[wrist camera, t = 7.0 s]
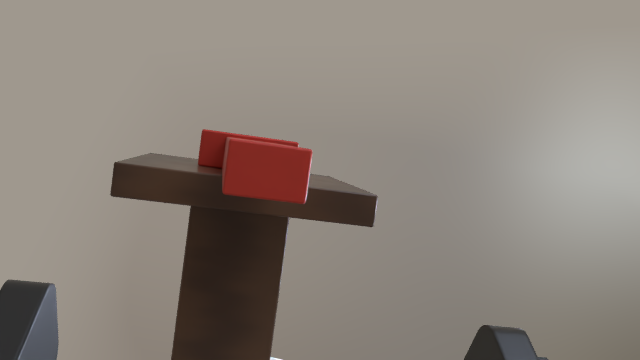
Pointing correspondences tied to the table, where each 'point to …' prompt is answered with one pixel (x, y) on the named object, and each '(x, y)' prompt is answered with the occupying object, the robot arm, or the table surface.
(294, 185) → the red mallet
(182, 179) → the wooden pedestal stand
